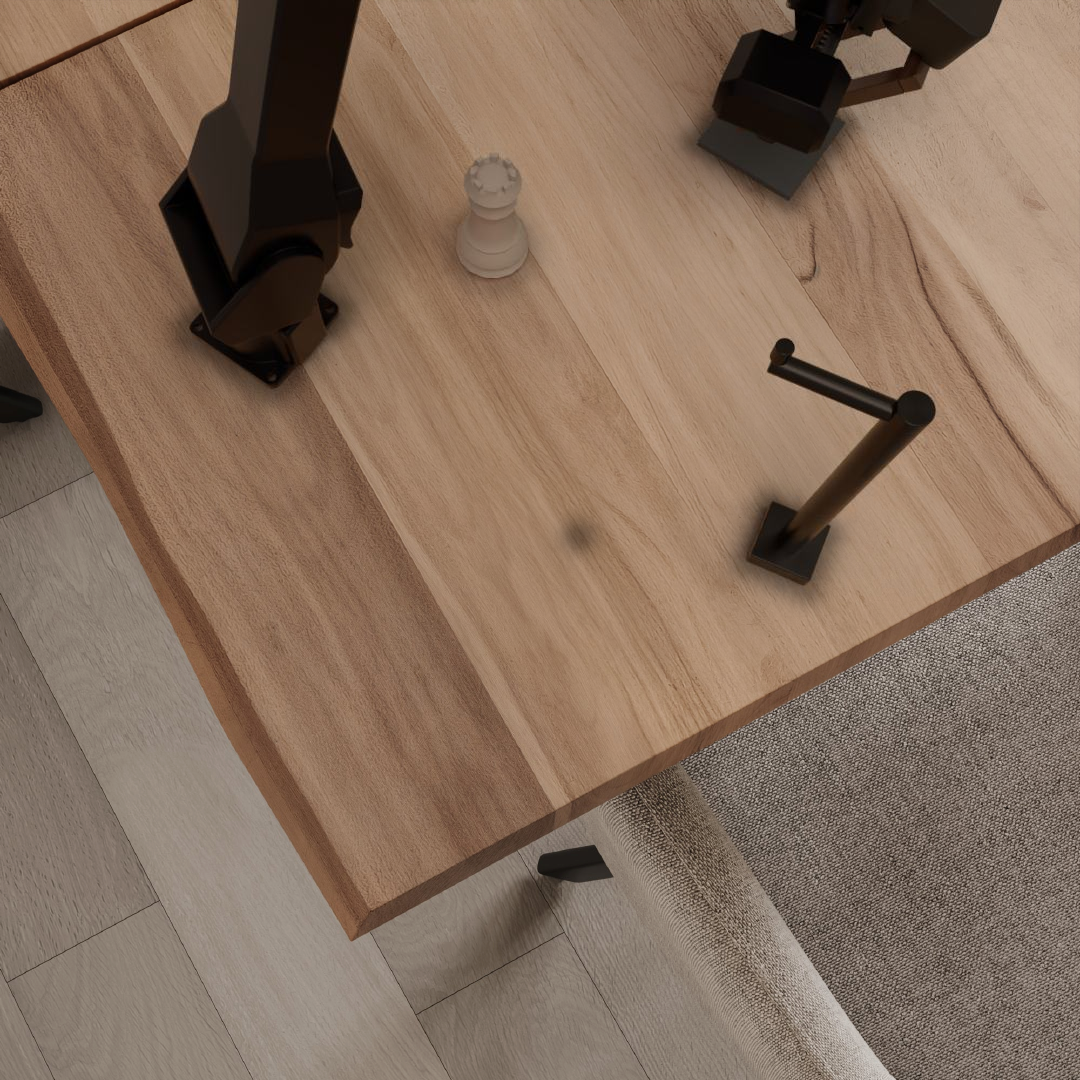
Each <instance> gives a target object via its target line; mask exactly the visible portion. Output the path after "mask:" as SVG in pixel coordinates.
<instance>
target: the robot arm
mask: <svg viewBox="0 0 1080 1080" xmlns="http://www.w3.org/2000/svg"><path fill="white" fill-rule="evenodd" d="M1002 2H1003V0H785V7H786V8H787V9H789V10H792V11H794V13H793V14H794V30H797V29H798V31H797V33H796V35H795V37H794V39H793V41H792V40H789V39H787V38H784V37H782V36H779V35H780V34H776V33H774V32H771V31H769V30H767V29H764V28H759V29H757V30H753V31H750V32H746V33H743V34H741V35H740V37H739V40H738V41H737V44H736V46H735V48H734V51H733V52H732V53H731V57H730V59H729V61H728V63H727V65H726V66H725V69H724V71H723V74H722V75H721V77H720V80H719V82H718V85H717V88H716V91H715V95H714V98H713V102H712V103H711V108H712V110H713V113H714V114H715V116H716V117H717V118H718V119H720V120H723V121H725V122H728V123H730V124H733V125H735V126H738V127H740V128H743V129H745V130H748V131H750V132H753V133H755V134H756V136H757V138H758V139H760V140H762V141H765V142H767V143H770V144H774V143H775V142H777V143H780V144H782V145H785V146H787V147H790V148H792V149H795V150H797V151H800V152H802V153H805V154H809V153H813V152H816V151H819V150H820V149H821V147H822V145H823V143H824V141H825V139H826V137H827V135H828V133H829V130H830V128H831V126H832V124H833V121H834V119H835V117H837V115H838V112H839V110H840V109H839V107H840V105H841V103H842V100H843V98H844V96H845V93H846V91H847V89H848V86H849V84H850V82H851V79H853V78H852V76H851V74H850V72H849V71H848V70H847V67H846V66H845V63H843V61H842V59H840V58H837V57H835V54H836V52H837V50H838V48H839V45H840V42H841V41H840V40H841V38H842V36H843V34H844V31H845V29H846V27H847V24H848V22H849V21H850V25H849V28H850V29H851V30H853V31H856V32H858V33H861V34H863V35H864V36H866V37H869V38H872V37H873V35H874V32H875V31H874V30H875V28H876V26H877V24H878V22H879V19H880V17H881V18H882V20H883V23H884V25H885V27H886V28H885V29H886V30H887V31H888V32H889V33H890V34H891V35H893V36H894V37H896V38H897V39H898V40H900V41H901V42H902V43H903V44H905V46H907V47H909V48H910V49H913V50H914V51H915V52H916V53H918V54H919V55H920V56H921V57H922V59H923V62H924V63H925V64H927V65H928V66H929V67H930V69H933V70H936V71H937V70H938V71H940V70H944V69H945V68H947V67H948V66H949V65H951V64H952V63H953V62H954V61H956V60H957V59H959V58H960V57H961V56H963V55H964V54H965V53H967V52H968V51H969V50H970V49H972V48H973V47H974V46H975V45H977V44H978V43H980V42H981V41H982V40H984V39H985V38H986V37H988V36H989V34H990V33H991V31H992V28H993V25H994V23H995V20H996V18H997V15H998V13H999V10H1000V7H1001V5H1002ZM361 3H362V0H238V1H237V8H236V9H237V10H236V19H235V29H234V30H235V31H234V39H233V46H232V47H233V49H232V58H231V67H230V75H229V77H230V78H229V85H228V87H229V88H228V93H227V97H226V100H224V101H223V102H222V103H220V104H219V105H217V106H216V107H214V108H213V109H211V110H210V111H208V112H206V113H205V114H204V115H203V117H202V118H201V120H200V122H199V125H198V129H197V132H196V134H195V138H194V141H193V144H192V148H191V151H190V154H189V158H188V160H187V164H186V166H185V168H184V169H183V170H182V172H181V173H180V174H179V176H178V177H177V178H176V180H174V182H173V183H172V185H171V186H170V187H169V189H168V190H167V191H166V193H165V194H164V196H162V198H161V199H160V200H159V202H158V204H157V205H158V208H159V211H160V213H161V215H162V218H163V220H164V221H163V222H164V223H165V226H166V228H167V231H168V233H169V235H170V238H171V240H172V242H173V245H174V247H175V250H176V252H177V255H178V257H179V259H180V262H181V264H182V267H183V269H184V272H185V274H186V277H187V279H188V282H189V284H190V287H191V288H192V291H193V294H194V296H195V299H196V301H197V304H198V306H199V309H200V312H199V314H198V315H197V316H196V317H195V318H194V319H193V320H192V321H191V323H190V324H189V330H190V333H191V334H192V335H193V337H195V338H196V339H197V340H199V341H201V342H202V343H203V344H204V345H207V346H208V347H209V348H211V349H212V350H214V351H215V352H217V353H218V354H219V355H221V356H223V357H224V358H226V359H227V360H228V361H229V362H231V363H232V364H234V365H236V366H237V367H238V368H240V369H241V370H243V371H244V372H245V373H247V374H249V375H250V376H252V377H253V378H255V379H256V380H257V381H259V382H260V383H261V384H263V385H265V386H266V387H268V388H270V389H275V388H278V387H280V385H281V384H283V382H284V381H285V380H286V378H287V377H288V376H289V375H290V374H291V372H292V371H293V370H294V369H295V368H296V367H297V366H302V365H303V364H304V362H305V361H306V360H307V359H308V358H309V357H310V356H311V355H312V353H313V352H314V351H315V350H316V348H317V347H318V346H319V345H320V344H321V343H322V341H323V340H324V339H325V338H326V337H327V330H328V329H329V328H330V327H331V326H332V324H334V322H335V321H336V320H337V319H338V318H339V315H340V307H339V305H338V304H337V303H336V302H334V301H333V300H332V299H330V297H327V296H326V295H324V294H323V293H321V288H322V286H323V283H324V280H325V277H326V275H328V274H329V273H330V272H331V270H332V269H333V268H334V266H335V265H336V262H337V260H338V258H339V256H340V254H341V249H342V248H343V249H346V250H347V249H348V250H349V249H352V248H353V247H354V243H353V240H352V228H353V225H354V224H355V222H356V219H357V217H358V216H359V213H360V211H361V209H362V206H363V205H362V204H363V198H364V190H363V188H362V185H361V183H360V182H359V179H358V177H357V175H356V173H355V171H354V169H353V166H352V165H351V162H350V160H349V158H348V156H347V153H346V152H345V149H344V147H343V145H342V143H341V141H340V138H339V136H338V134H337V132H336V130H335V128H334V124H335V118H336V115H337V110H338V105H339V101H340V96H341V92H342V88H343V84H344V79H345V75H346V69H347V65H348V60H349V56H350V53H351V48H352V44H353V39H354V35H355V31H356V30H355V29H356V25H357V21H358V17H359V13H360V8H361ZM823 22H824V23H827V25H826V28H825V30H824V32H823V34H822V37H821V39H820V41H819V44H818V45H817V48H814V49H812V46H813V43H814V41H815V39H816V37H817V34H818V32H819V30H820V28H821V25H822V23H823ZM863 35H862V36H863ZM331 309H332V310H333V311H332V312H329V310H331ZM198 327H202V328H201V329H200V330H197V328H198ZM272 377H275V379H274V380H272V381H271V380H270V378H272Z"/></svg>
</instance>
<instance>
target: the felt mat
mask: <svg viewBox="0 0 1080 1080" xmlns="http://www.w3.org/2000/svg"><path fill="white" fill-rule="evenodd" d="M845 124H846V122H845V120H843V119H841V118H839V117H838V116H836V117H835V119H834V121H833V124H832V126H831V128H830V130H829V133H828V135H827V137H826V139H825V141H824V143H823V145H822V147H821V149H820V150H819V151H816V152H813V153H809V154H805V153H802V152H800V151H797V150H795V149H792V148H790V147H787V146H785V145H782V144H780V143H777V142H775V143H774V144H770V143H767V142H765V141H762V140H760V139H758V138H757V136H756V134H755V133H753V132H750V131H748V130H746V131H742V132H738V130H737V129H736V127H735V126H734V125H733V124H730V123H728V122H725V121H723V120H720V119H718V118H717V116H716V117H715V118H714V119H713V120H712V122H711V123H710V124H709V126H707V128H706V129H705V131H704V132H703V133H702V135H701V136H700V137H699V138H698V140H697V143H696V144H697V146H698V147H701V148H702V149H704V150H706V151H707V152H708V153H710V154H712V155H714V156H715V157H717V158H718V159H719V160H722V161H723V162H725V163H726V164H728V165H730V166H732V167H733V168H735V169H737V170H738V171H740V172H741V173H743V174H744V175H746V176H747V177H749V178H751V179H752V180H755V181H756V182H758V184H760V185H762V186H764V187H766V188H767V189H769V190H771V191H772V192H774V193H775V194H777V195H779V196H781V197H782V198H784V200H786V201H790V200H791V199H792V197H793V196H794V195H795V193H796V192H797V191H798V189H799V188H800V186H801V185H802V184H803V182H804V181H805V180H806V178H807V177H808V175H809V174H810V173H811V171H812V170H813V168H815V166H816V165H817V163H818V162H819V160H820V159H821V157H822V156H823V155H824V154H825V152H826V151H827V149H828V148H829V147H830V146H831V144H832V143H833V141H834V140H835V139H836V137H837V136H838V134H839V133H840V132H841V130H842V129H843V128H844V126H845Z"/></svg>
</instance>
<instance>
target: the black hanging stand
mask: <svg viewBox="0 0 1080 1080" xmlns="http://www.w3.org/2000/svg"><path fill="white" fill-rule="evenodd" d="M795 349H796V346H795V343H794V341H793V340H792V339H790V338H787V337H782V338H779V339H778V340H777V341H775V344H774V345H773V347H772V349H771V351H770V352H769V360H770V362H769V364H768V367H767V369H766V373H767V374H770V375H773V376H775V377H777V378H779V379H781V380H784V381H786V382H789V383H791V384H794V385H796V386H799V387H801V388H803V389H806V390H807V391H810V392H812V393H815V394H817V395H819V396H822V397H825V398H827V399H829V400H832V401H834V402H837V403H839V404H841V405H843V406H846V407H849V408H851V409H853V410H856V411H858V412H861V413H863V414H865V415H867V416H869V417H873V418H875V419H877V421H876V423H875V424H874V425H873V426H872V427H871V428H870V429H869V430H868V432H867V433H866V434H865V435H864V436H863V437H862V438H861V440H859V442H858V443H857V444H856V445H855V446H854V448H853V449H851V451H850V452H849V453H848V455H846V456H845V458H844V459H843V460H842V461H841V462H840V463H839V464H838V465H837V466H836V468H835V469H834V470H833V471H832V472H831V474H830V475H828V477H827V478H826V479H825V480H824V481H823V483H822V484H820V486H819V487H817V489H816V490H815V491H814V492H813V493H812V494H811V496H810V497H809V498H808V499H807V500H806V501H805V503H804V504H803V505H802V506H801V507H800V508H799V509H798V510H796V509H793V508H790V507H788V506H785V505H783V504H781V503H779V502H777V501H775V500H772V501H771V502H770V504H769V505H768V506H767V507H766V510H765V512H764V514H763V517H762V520H761V522H760V524H759V527H758V530H757V532H756V535H755V537H754V540H753V542H752V545H751V546H750V550H749V552H748V555H747V557H746V561H747V562H748V563H751V564H753V565H755V566H757V567H760V568H762V569H765V570H766V571H769V572H770V573H773V574H776V575H778V576H781V577H783V578H785V579H788V580H790V581H792V582H795V583H797V584H799V585H801V586H806V585H807V584H808V583H809V582H810V581H811V580H812V577H813V574H814V571H815V570H816V566H817V564H818V561H819V558H820V556H821V554H822V551H823V549H824V545H825V543H826V541H827V538H828V535H829V532H830V530H831V525H830V523H832V521H833V520H834V519H836V517H837V516H838V515H839V514H840V513H841V512H842V511H843V510H844V509H845V508H846V507H847V506H848V505H849V504H850V503H851V502H853V500H854V499H855V498H856V497H857V496H858V495H859V494H860V493H861V492H862V491H863V490H864V489H865V488H866V487H867V486H868V485H869V484H870V483H872V482H873V480H874V479H875V478H876V477H878V475H880V473H882V472H883V470H885V469H886V467H888V465H889V464H890V463H891V462H893V461H894V460H895V459H896V458H897V456H899V455H900V454H901V453H902V452H903V451H904V449H906V448H907V447H908V446H909V445H910V444H911V443H912V442H913V441H914V440H915V439H916V438H917V437H918V436H919V435H920V434H921V433H922V432H923V431H924V430H925V429H926V428H927V427H928V426H929V425H930V424H931V423H932V422H933V421H934V419H935V417H936V413H937V407H936V404H935V402H934V400H933V399H932V397H930V395H928V394H927V393H926V392H924V391H921V390H917V389H914V390H913V389H911V390H907V391H905V392H903V393H902V394H901V395H900V396H898V398H897V399H896V398H894V397H891V396H889V395H887V394H884V393H883V392H880V391H877V390H875V389H872V388H870V387H868V386H865V385H863V384H860V383H858V382H856V381H853V380H851V379H848V378H846V377H844V376H841V375H840V374H839V375H838V374H836V373H834V372H831V371H829V370H827V369H824V368H822V367H820V366H816V365H815V364H813V363H810V362H807V361H805V360H803V359H800V358H798V357H795V356H793V354H794V353H795Z"/></svg>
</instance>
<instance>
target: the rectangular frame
mask: <svg viewBox="0 0 1080 1080" xmlns="http://www.w3.org/2000/svg"><path fill="white" fill-rule="evenodd" d="M826 25H827V23H824V22H823V23H822V25H821V28H820V30H819V32H818V34H817V37H816V39H815V41H814V43H813V46H812V49H814V48H817V45H818V44H819V41H820V39H821V37H822V34H823V32H824V30H825V28H826ZM849 25H850V21H849V22H848V24H847V27H846V29H845V31H844V34H843V36H842V38H841V40H840V42H841V41H845V40H849V39H853V38H856V37H861V36H863V34H861V33H858V32H856V31H853V30H851V29H850V28H849ZM884 29H887V28H886V27H885V25H884V23H883V20H882V18H881V17H880V19H879V22H878V24H877V26H876V28H875V30H874V32H878V31H880V30H884ZM797 31H798V29H797V30H795V29H794V30H791V31H788V32H784V33H780V34H778V35H779V36H782V37H784V38H787V39H789V40H792V41H793V39H794V37H795V35H796V33H797ZM930 69H931V67H929V66H928V65H927V64H925V63H924V62H923V59H922V57H921V56H920V55H919V54H918V53H916V52H915V51H914V50H913V49H911V48H910V50H909V52H908V54H907V56H906V59H905V60H904V64H903V65H902V66H899V67H895V68H891V69H887V70H883V71H879V72H876V73H871V74H867V75H863V76H859V77H856V78H852V79H851V82H850V84H849V86H848V89H847V91H846V93H845V96H844V98H843V100H842V103H841V105H840V107H839V110H840V109H844V108H849V107H853V106H858V105H861V104H865V103H870V102H874V101H878V100H882V99H886V98H892V97H895V96H900V95H904V94H905V93H906V94H908V93H911V92H915V91H920V90H922V88H923V87H924V84H925V81H926V79H927V76H928V74H929V72H930ZM734 126H735V125H734ZM735 127H736V129H737V130H738V132H742V131H746V130H745V129H743V128H740V127H738V126H735Z"/></svg>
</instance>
